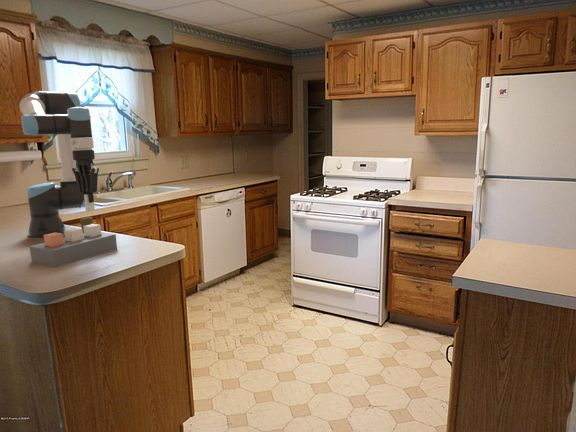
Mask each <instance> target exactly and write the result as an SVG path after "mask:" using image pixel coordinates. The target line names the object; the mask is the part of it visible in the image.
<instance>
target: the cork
mask: <svg viewBox="0 0 576 432" xmlns="http://www.w3.org/2000/svg"><path fill="white" fill-rule="evenodd" d="M79 224H80V226H81V229H82V231H83V233H84V228H83V226H86V225H90V224H94V218H93V217H91V216H83V217H81V218H80V219H79Z"/></svg>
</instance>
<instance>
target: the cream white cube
mask: <svg viewBox="0 0 576 432" xmlns="http://www.w3.org/2000/svg"><path fill="white" fill-rule="evenodd" d="M64 238H65V240H66V241H70V242H75V241H78V240H82V239H83V231H82V228H77V227H73V228H69V229H65V230H64Z"/></svg>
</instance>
